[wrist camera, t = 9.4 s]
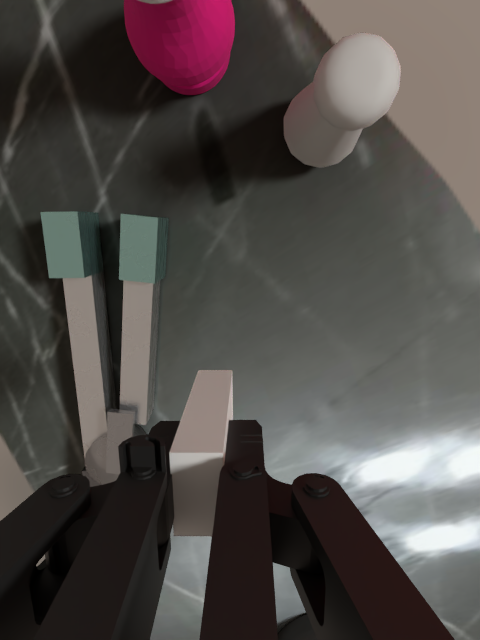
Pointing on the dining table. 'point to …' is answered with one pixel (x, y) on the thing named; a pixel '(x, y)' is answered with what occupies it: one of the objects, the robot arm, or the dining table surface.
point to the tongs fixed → (85, 328)
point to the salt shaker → (342, 99)
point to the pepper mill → (182, 40)
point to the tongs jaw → (137, 326)
